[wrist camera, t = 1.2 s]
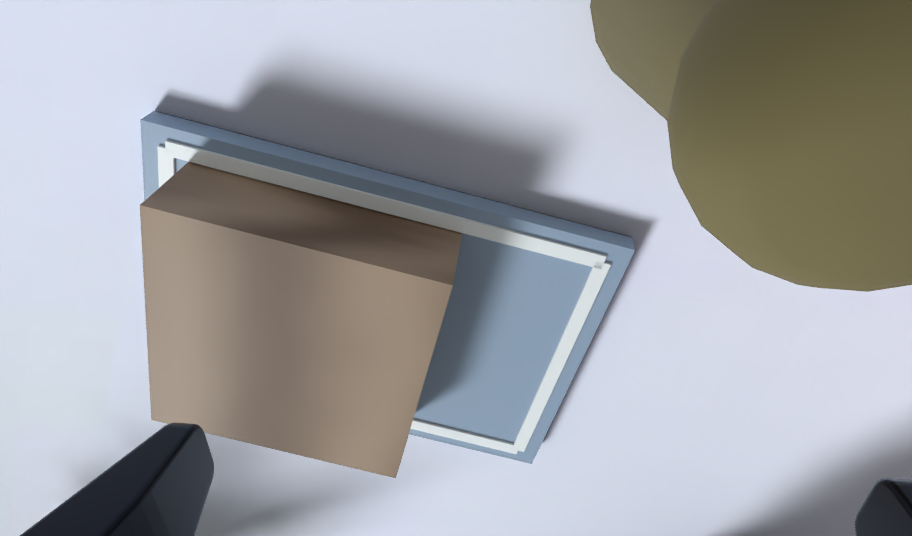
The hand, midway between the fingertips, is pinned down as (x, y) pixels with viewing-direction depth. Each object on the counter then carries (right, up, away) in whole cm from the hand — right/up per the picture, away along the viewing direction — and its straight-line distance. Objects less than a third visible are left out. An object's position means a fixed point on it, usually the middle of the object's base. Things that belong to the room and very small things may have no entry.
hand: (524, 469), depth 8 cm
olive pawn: (+6, +10, +8) cm, 14 cm away
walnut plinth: (-6, +2, +15) cm, 16 cm away
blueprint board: (-4, +1, +15) cm, 15 cm away
